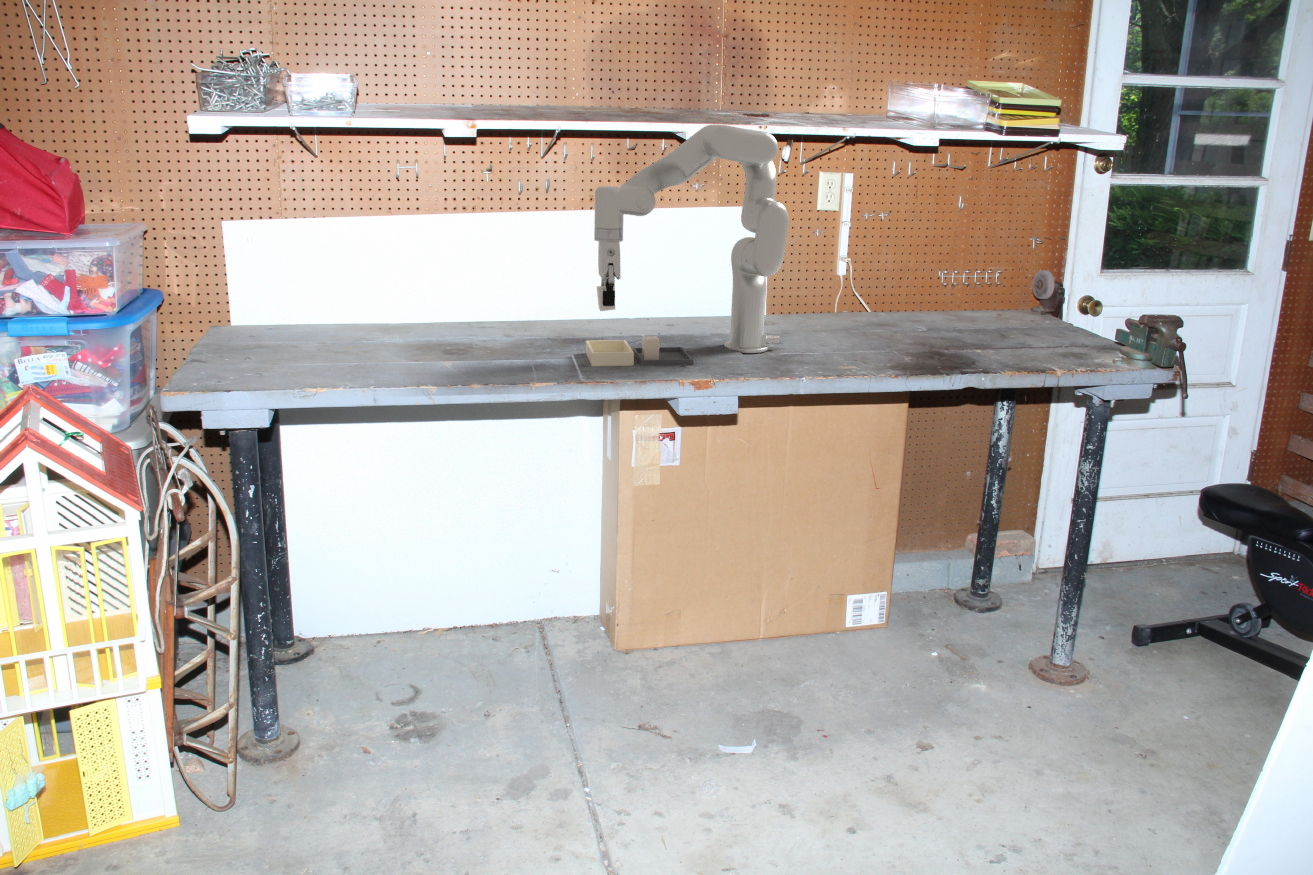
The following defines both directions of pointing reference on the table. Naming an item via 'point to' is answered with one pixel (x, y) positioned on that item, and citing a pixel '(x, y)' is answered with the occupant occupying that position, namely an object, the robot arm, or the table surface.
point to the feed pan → (666, 356)
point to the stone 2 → (650, 348)
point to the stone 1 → (600, 300)
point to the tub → (609, 353)
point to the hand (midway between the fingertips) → (607, 303)
